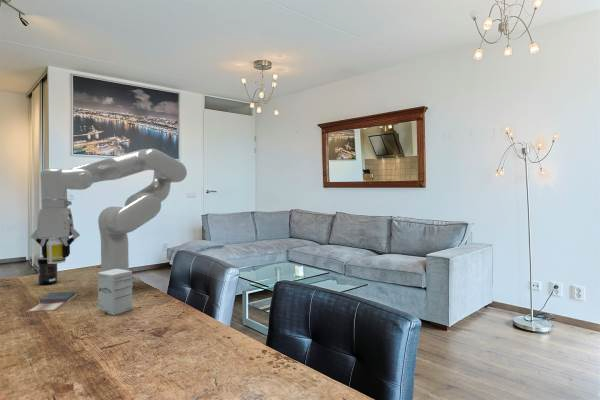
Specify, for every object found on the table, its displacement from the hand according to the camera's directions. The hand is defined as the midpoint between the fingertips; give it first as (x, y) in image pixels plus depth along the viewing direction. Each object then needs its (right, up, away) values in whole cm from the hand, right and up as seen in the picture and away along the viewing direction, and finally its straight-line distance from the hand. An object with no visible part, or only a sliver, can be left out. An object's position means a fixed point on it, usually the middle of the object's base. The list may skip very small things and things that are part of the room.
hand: (56, 256), depth 133 cm
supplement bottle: (0, -2, 0) cm, 2 cm away
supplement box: (+25, -16, -10) cm, 32 cm away
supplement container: (-18, -15, +24) cm, 33 cm away
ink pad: (+1, -14, 0) cm, 15 cm away
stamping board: (+2, -15, -5) cm, 16 cm away
